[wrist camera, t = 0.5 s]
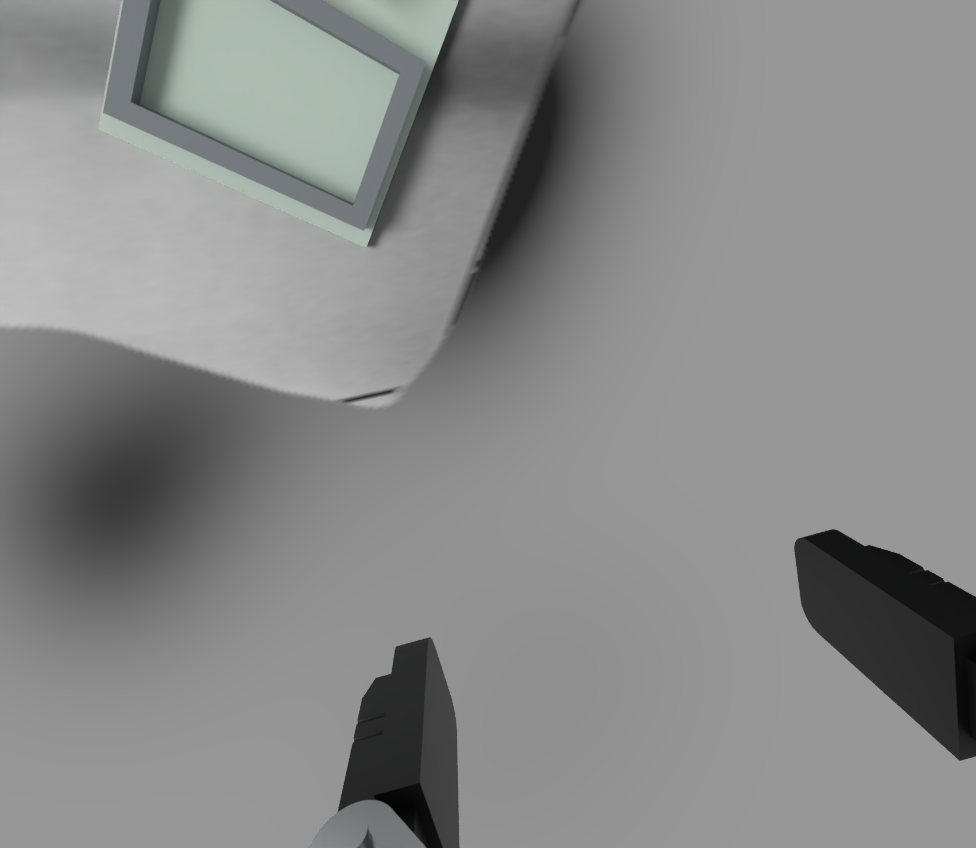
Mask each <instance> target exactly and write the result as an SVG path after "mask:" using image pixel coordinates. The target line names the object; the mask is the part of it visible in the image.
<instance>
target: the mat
mask: <svg viewBox="0 0 976 848" xmlns="http://www.w3.org/2000/svg"><path fill="white" fill-rule="evenodd" d="M458 1H459V0H121V5H120V11H119V16H118V22H117V27H116V33H115V38H114V44H113V49H112V55H111V60H110V66H109V71H108V77H107V82H106V88H105V93H104V99H103V104H102V110H101V116H100V121H99V127H98V130H101V131H103V132H105V133H107V134H110V135H112V136H114V137H116V138H119V139H121V140H123V141H125V142H128V143H130V144H132V145H134V146H137V147H139V148H141V149H144V150H146V151H148V152H150V153H153V154H155V155H157V156H159V157H162V158H164V159H166V160H168V161H171V162H173V163H175V164H177V165H180V166H182V167H184V168H187V169H189V170H191V171H193V172H196V173H198V174H200V175H202V176H205V177H207V178H209V179H211V180H214V181H216V182H218V183H220V184H223V185H225V186H227V187H230V188H232V189H234V190H236V191H239V192H241V193H243V194H245V195H248V196H250V197H252V198H254V199H257V200H259V201H261V202H263V203H266V204H268V205H270V206H272V207H275V208H277V209H279V210H282V211H284V212H286V213H288V214H291V215H293V216H295V217H297V218H300V219H302V220H304V221H306V222H309V223H311V224H313V225H315V226H318V227H320V228H322V229H325V230H327V231H329V232H331V233H334V234H336V235H338V236H340V237H343V238H345V239H347V240H349V241H352V242H354V243H356V244H358V245H361V246H363V247H365V248H366V247H367V245H368V242H369V239H370V237H371V234H372V231H373V229H374V226H375V223H376V220H377V218H378V215H379V212H380V210H381V207H382V204H383V202H384V199H385V196H386V194H387V191H388V188H389V186H390V183H391V180H392V178H393V175H394V172H395V170H396V167H397V164H398V162H399V159H400V156H401V154H402V151H403V148H404V146H405V143H406V140H407V138H408V135H409V132H410V129H411V127H412V124H413V121H414V119H415V116H416V113H417V111H418V108H419V105H420V103H421V100H422V97H423V95H424V92H425V89H426V87H427V84H428V81H429V79H430V76H431V73H432V71H433V68H434V65H435V63H436V60H437V57H438V55H439V52H440V49H441V47H442V44H443V41H444V38H445V36H446V33H447V30H448V28H449V25H450V22H451V20H452V17H453V14H454V12H455V9H456V6H457V4H458Z"/></svg>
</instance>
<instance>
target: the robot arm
mask: <svg viewBox="0 0 976 848" xmlns="http://www.w3.org/2000/svg"><path fill="white" fill-rule="evenodd" d="M794 548H795V558H796V566H797V573H798V581H799V589H800V597H801V604H802V607H803V610H804V613H805V615H806V617H807V619H808V621H809V622H810V624H811V625H812V627H813V628H814V629H815V630H816V631H817V633H819V634H820V635H821V636H822V637H823V638H824V639H825V640H826V641H828V643H830V644H831V645H832V646H833V647H834V648H835V649H836V650H837V651H838V652H840V653H841V654H842V655H843V656H844V657H845V658H846V659H847V660H848V661H850V662H851V663H852V664H853V665H854V666H855V667H856V668H858V670H860V671H861V672H862V673H863V674H864V675H865V676H866V677H867V678H868V679H870V680H871V681H872V682H873V683H874V684H875V685H876V686H877V687H878V688H880V689H881V690H882V691H883V692H884V693H885V694H886V695H887V696H888V697H890V698H891V699H892V700H893V701H894V702H895V703H896V704H897V705H898V706H900V707H901V708H902V709H903V710H904V711H905V712H906V713H907V714H908V715H910V716H911V717H912V718H913V719H914V720H915V721H916V722H917V723H918V724H920V725H921V726H922V727H923V728H924V729H925V730H926V731H927V732H928V733H929V734H931V735H932V736H933V737H934V738H935V739H936V740H937V741H938V742H940V743H941V744H942V745H943V746H944V747H945V748H946V749H947V750H948V751H949V752H951V753H952V754H953V755H954V756H955V757H956V758H957V759H958V760H964V759H968V758H971V757H975V756H976V597H975V596H973V595H971V594H969V593H968V592H966V591H964V590H962V589H961V588H959V587H957V586H955V585H953V584H952V583H950V582H944V580H943V578H941V577H939V576H937V575H936V574H934V573H932V572H930V571H928V570H926V571H925V570H924V569H923V567H921V566H920V565H918V564H916V563H914V562H913V561H911V560H909V559H907V558H905V557H904V556H902V555H900V554H897V553H894V552H891V551H888V550H884V549H881V548H877V547H874V546H870V545H868V546H863V545H862V544H860V543H858V542H856V541H855V540H853V539H852V538H850V537H848V536H846V535H845V534H843V533H841V532H840V531H838V530H834V529H832V530H828V531H825V532H821V533H817V534H813V535H810V536H806V537H803V538H799V539H797V540H796V542H795V547H794ZM457 766H458V765H457V728H456V718H455V712H454V707H453V702H452V699H451V695H450V692H449V689H448V686H447V683H446V680H445V677H444V673H443V670H442V667H441V664H440V661H439V658H438V655H437V651H436V649H435V646H434V643H433V641H432V639H431V638H430V637H429V638H426V639H422V640H418V641H415V642H411V643H407V644H404V645H400V646H397V647H396V649H395V654H394V660H393V667H392V673H391V674H389V675H385V676H381V677H378V678H376V679H375V680H374V682H373V683H372V685H371V686H370V688H369V689H368V691H367V692H366V694H365V695H364V697H363V698H362V702H361V706H360V711H359V716H358V724H357V725H356V730H355V734H354V742H353V744H352V749H351V753H350V758H349V763H348V767H347V772H346V776H345V781H344V786H343V790H342V795H341V800H340V804H339V809H338V812H337V813H336V814H335V815H334V816H332V817H331V818H330V819H329V820H328V821H327V822H326V823H325V824H324V825H323V826H322V828H321V829H320V830H319V831H318V833H317V834H316V836H315V837H314V839H313V841H312V843H311V845H310V847H309V848H459V813H458V767H457Z"/></svg>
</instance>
